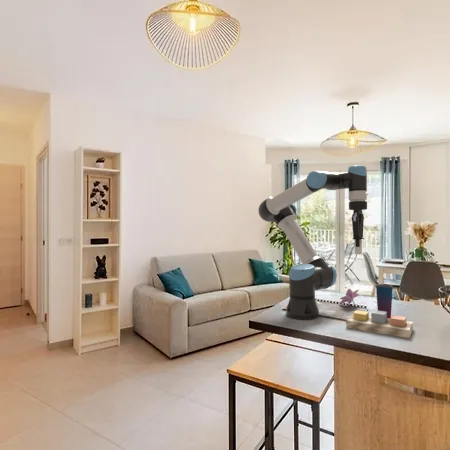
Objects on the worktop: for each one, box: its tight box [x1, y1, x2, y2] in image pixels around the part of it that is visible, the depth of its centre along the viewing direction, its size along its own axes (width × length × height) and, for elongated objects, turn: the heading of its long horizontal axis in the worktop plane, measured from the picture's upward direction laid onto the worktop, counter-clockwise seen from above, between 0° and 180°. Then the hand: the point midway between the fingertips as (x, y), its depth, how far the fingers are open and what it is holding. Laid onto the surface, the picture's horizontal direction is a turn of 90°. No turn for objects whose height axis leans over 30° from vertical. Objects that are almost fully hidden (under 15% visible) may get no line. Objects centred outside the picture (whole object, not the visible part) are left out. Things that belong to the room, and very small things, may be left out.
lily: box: [338, 288, 360, 308], centre depth 168 cm, size 12×12×10 cm
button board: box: [345, 314, 414, 339], centre depth 135 cm, size 23×12×3 cm, turn 55°
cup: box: [375, 283, 394, 318], centre depth 147 cm, size 7×7×15 cm
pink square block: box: [390, 314, 407, 327], centre depth 131 cm, size 5×5×4 cm
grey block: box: [370, 309, 387, 324], centre depth 135 cm, size 5×5×4 cm
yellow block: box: [353, 309, 370, 321], centre depth 139 cm, size 5×5×4 cm
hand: (358, 254), depth 145 cm, fingers closed
